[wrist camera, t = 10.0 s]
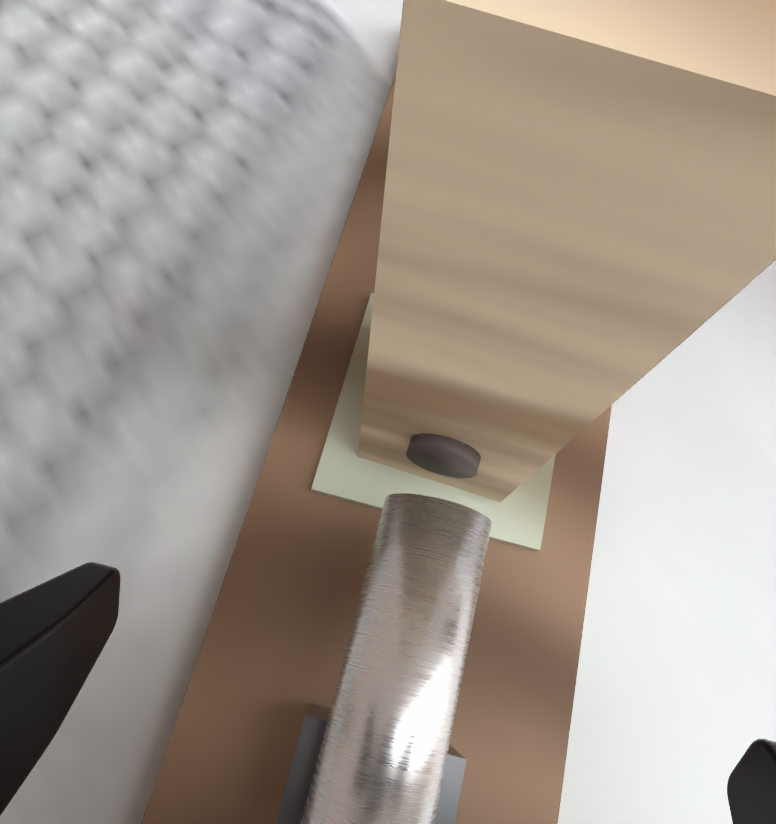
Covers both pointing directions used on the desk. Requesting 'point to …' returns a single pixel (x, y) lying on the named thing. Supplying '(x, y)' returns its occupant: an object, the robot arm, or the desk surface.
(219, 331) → the desk surface
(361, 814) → the shafts
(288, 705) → the base board
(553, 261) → the tan wood post
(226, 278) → the desk surface
